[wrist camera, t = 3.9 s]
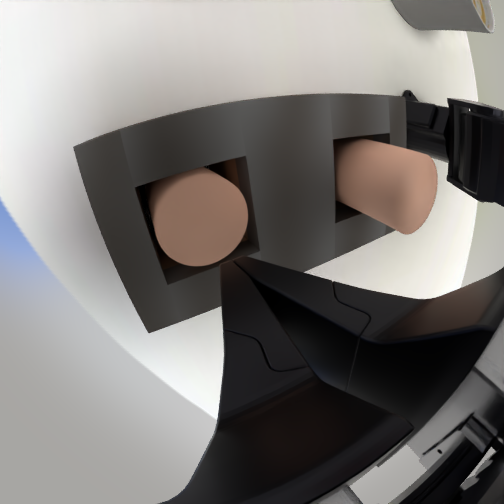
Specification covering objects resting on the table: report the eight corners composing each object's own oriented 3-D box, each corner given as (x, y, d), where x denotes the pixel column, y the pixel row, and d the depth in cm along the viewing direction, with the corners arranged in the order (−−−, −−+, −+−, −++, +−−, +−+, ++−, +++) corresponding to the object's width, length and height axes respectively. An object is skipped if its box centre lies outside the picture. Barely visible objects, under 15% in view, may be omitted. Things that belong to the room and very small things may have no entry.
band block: (338, 93, 20) (405, 97, 14) (343, 199, 25) (400, 227, 19) (94, 138, 14) (73, 146, 8) (137, 270, 19) (148, 333, 14)
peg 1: (202, 149, 17) (240, 164, 12) (214, 209, 19) (253, 248, 14) (137, 168, 16) (142, 192, 10) (155, 229, 18) (171, 278, 13)
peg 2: (360, 132, 17) (440, 150, 12) (360, 190, 19) (432, 222, 14) (310, 138, 15) (396, 158, 10) (314, 204, 18) (389, 245, 13)
